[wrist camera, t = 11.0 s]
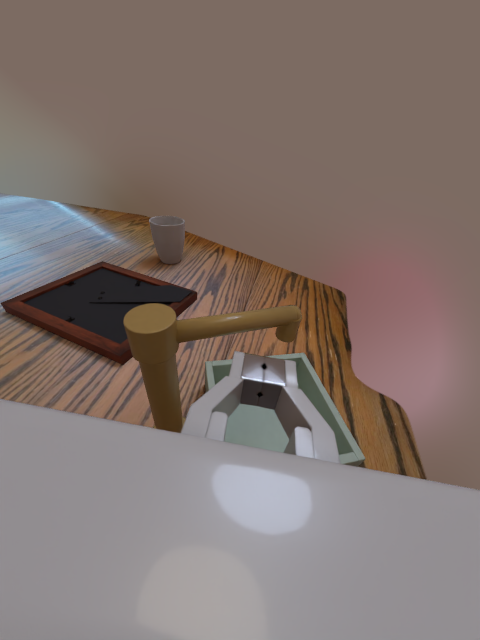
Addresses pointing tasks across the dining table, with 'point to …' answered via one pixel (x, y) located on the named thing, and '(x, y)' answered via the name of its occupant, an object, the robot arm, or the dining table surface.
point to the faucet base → (164, 394)
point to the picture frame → (96, 306)
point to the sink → (263, 423)
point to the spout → (198, 328)
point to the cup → (168, 237)
